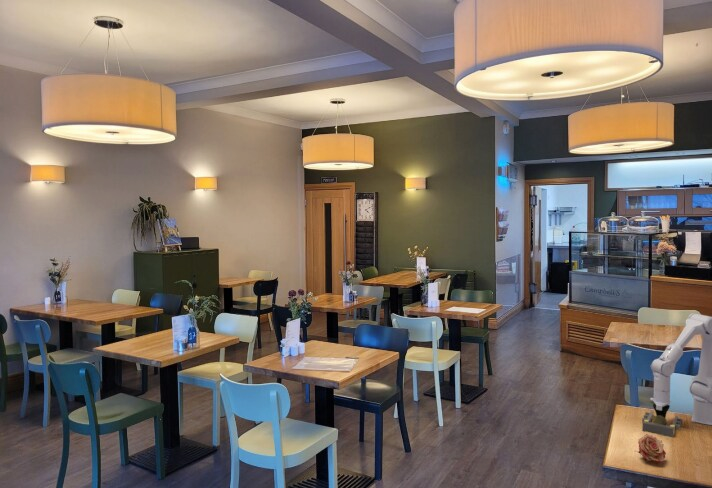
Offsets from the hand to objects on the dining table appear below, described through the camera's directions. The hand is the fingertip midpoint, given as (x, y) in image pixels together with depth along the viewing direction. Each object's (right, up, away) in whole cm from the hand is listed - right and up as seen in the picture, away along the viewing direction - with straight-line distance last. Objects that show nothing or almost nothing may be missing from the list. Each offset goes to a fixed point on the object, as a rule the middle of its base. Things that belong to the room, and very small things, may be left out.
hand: (660, 422), depth 217 cm
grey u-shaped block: (0, -1, 0) cm, 1 cm away
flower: (-21, -3, -31) cm, 37 cm away
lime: (-2, -2, -2) cm, 3 cm away
